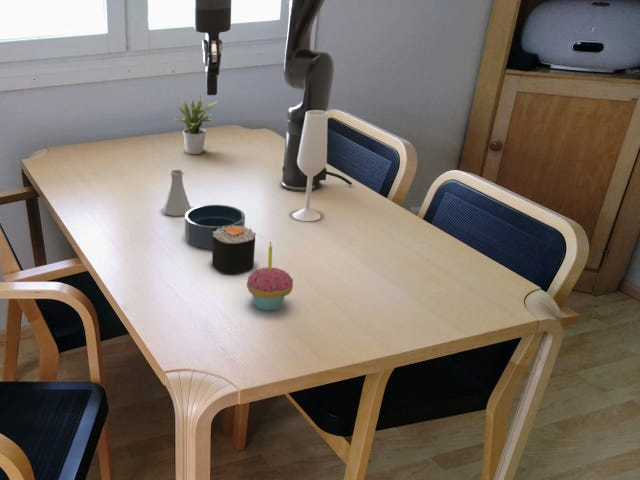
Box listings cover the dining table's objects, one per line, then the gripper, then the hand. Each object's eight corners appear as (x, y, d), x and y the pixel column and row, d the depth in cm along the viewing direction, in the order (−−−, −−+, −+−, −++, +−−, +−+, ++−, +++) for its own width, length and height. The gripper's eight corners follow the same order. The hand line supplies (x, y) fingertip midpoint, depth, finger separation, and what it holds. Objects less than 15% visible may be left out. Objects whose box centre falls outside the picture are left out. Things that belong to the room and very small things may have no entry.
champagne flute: (323, 212, 164) (335, 110, 151) (316, 222, 159) (328, 117, 146) (296, 209, 167) (305, 108, 153) (288, 218, 162) (297, 115, 148)
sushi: (205, 263, 143) (206, 227, 138) (238, 254, 146) (240, 219, 142) (226, 278, 137) (227, 241, 132) (260, 268, 140) (262, 232, 136)
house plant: (220, 159, 200) (222, 102, 191) (173, 160, 201) (173, 103, 191) (217, 145, 212) (219, 90, 203) (173, 146, 212) (172, 91, 203)
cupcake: (242, 295, 131) (244, 237, 124) (285, 292, 131) (290, 235, 125) (250, 317, 124) (254, 257, 117) (296, 314, 124) (302, 254, 117)
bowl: (240, 226, 159) (241, 203, 156) (246, 250, 148) (248, 226, 145) (184, 227, 159) (184, 205, 156) (186, 251, 148) (186, 228, 145)
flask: (189, 217, 164) (189, 177, 158) (160, 216, 165) (159, 175, 160) (194, 206, 170) (194, 167, 164) (165, 205, 171) (164, 166, 165)
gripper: (234, 8, 132) (232, 101, 142) (227, 0, 143) (225, 86, 153) (196, 10, 132) (196, 102, 142) (192, 1, 143) (192, 88, 153)
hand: (211, 94), depth 147 cm, fingers closed
